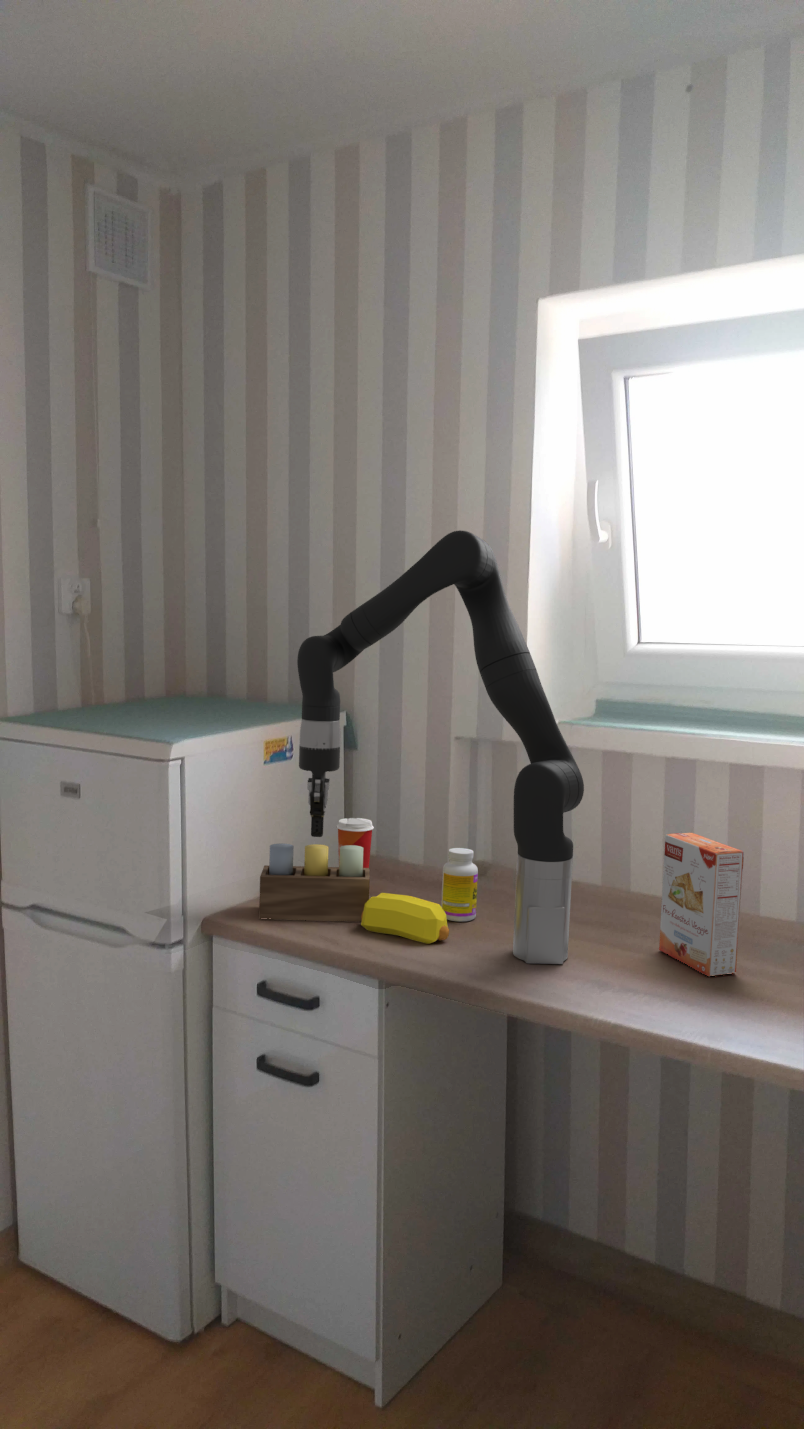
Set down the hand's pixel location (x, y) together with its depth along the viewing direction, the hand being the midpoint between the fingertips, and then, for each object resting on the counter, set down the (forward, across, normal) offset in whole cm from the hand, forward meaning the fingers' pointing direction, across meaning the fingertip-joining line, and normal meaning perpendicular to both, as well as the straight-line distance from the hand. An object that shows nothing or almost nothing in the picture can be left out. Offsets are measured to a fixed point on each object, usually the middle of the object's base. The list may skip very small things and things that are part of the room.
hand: (317, 835), depth 196 cm
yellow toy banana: (+15, -11, -16) cm, 25 cm away
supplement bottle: (+15, 0, -27) cm, 31 cm away
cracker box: (+15, -23, -65) cm, 71 cm away
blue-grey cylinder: (+8, 0, +6) cm, 10 cm away
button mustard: (+8, 0, 0) cm, 8 cm away
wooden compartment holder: (+15, 0, 0) cm, 15 cm away
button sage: (+8, 0, -7) cm, 10 cm away
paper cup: (+15, +19, -7) cm, 25 cm away
